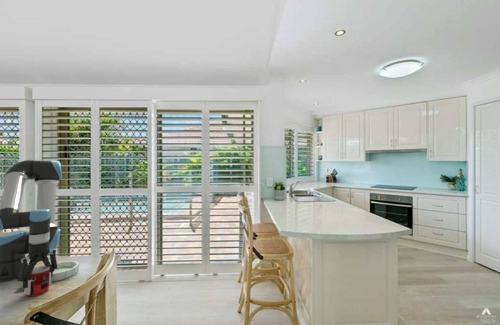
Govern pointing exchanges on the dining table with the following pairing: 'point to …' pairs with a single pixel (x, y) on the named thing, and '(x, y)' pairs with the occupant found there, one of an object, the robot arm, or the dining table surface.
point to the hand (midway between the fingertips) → (38, 289)
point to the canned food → (39, 280)
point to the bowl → (65, 270)
